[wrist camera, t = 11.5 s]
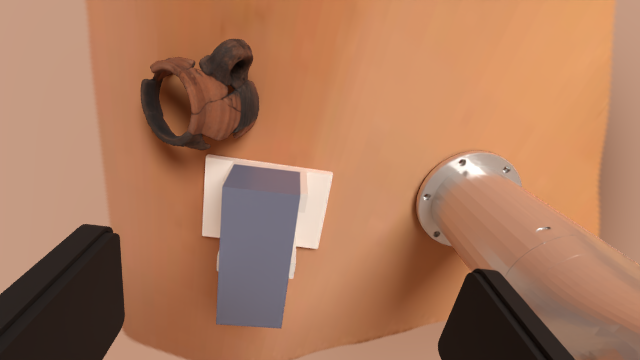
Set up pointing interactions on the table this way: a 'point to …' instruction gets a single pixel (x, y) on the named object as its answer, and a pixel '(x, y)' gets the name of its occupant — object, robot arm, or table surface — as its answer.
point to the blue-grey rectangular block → (256, 245)
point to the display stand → (310, 204)
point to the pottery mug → (206, 95)
